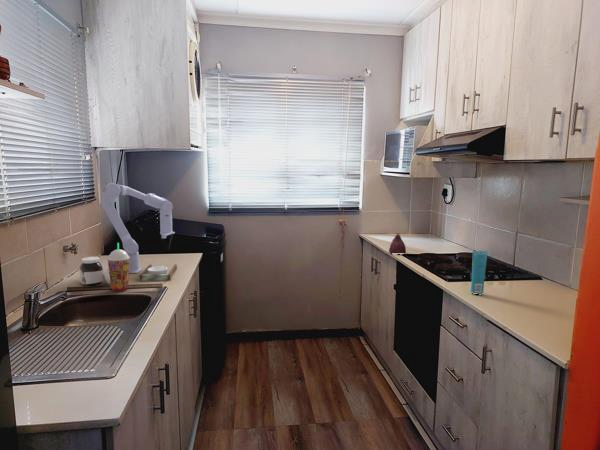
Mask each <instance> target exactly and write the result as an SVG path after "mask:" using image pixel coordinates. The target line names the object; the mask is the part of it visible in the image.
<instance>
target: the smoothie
mask: <svg viewBox="0 0 600 450" xmlns="http://www.w3.org/2000/svg"><path fill="white" fill-rule="evenodd" d="M116 243H117V244H116V245H117V246H116V247H117V248H116V249H114V250H113V251H111V252H110V254H109V256H108V257H107V265H108V273H109V275H110V288H111V289H112V291H113V292H118V293H119V292H124V291H127V290H128V287H129V284H130V273H129V258H130V257H129V256H128V254H127V253H126V252H125V249H120V242H116Z"/></svg>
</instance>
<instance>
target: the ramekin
mask: <svg viewBox="0 0 600 450" xmlns="http://www.w3.org/2000/svg"><path fill="white" fill-rule="evenodd" d="M147 270H148V275H152V274H168V267H167V266H162V265H160V266H159V265H158V266H157V265H156V266H152V267H150V268H148V269H147Z"/></svg>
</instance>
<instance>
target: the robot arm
mask: <svg viewBox="0 0 600 450" xmlns="http://www.w3.org/2000/svg"><path fill="white" fill-rule="evenodd" d="M120 195H121V196H127V195H128V196H131V197H134V198H136V199H139V200H142V201H143V202H144V204H145V205H147V206H150V207H153V208H156V209H159V222H160V224H159V225H160V227H159V228H160V232H159V234H160V236H159V238H160V240H161V242H162V245H163V250H164V251H169V250H170V247H171V242H172V239H173V235H174V234H175V233H176V232H175V231H173V213H172V211H173V209H174V205H173V203H172V202H171V201H170V200H168V199H166V198H165V197H160V196H158V195H156V193H154V192H152V193H151V192H149V193H147V194H145V193H143V192H141V191H138V190H136V189H134V188H131V187H130V186H127V185H122V184H119V183H118V184H117V183H115V182H109V183H107V184H106V185H105V186H104V188H103V191H102V199H101V206H102V208H103V210H104V213H106V216H107V217H108V219H109V221H110V222H111V224H112V226H113V228H114V229H115V232H116V233H117V235H118V236H119V238H120V240H121V243H122V248H123V250H124V251H125V252H126V253H127V254H128V256H129V257H130V258H129V274H138V273H139V272H140V271H141V270H142V267H140V254H139V253H140V252H139V244H138V243H137V242H136V240H135V239H133V238H132V237H131V234H130V233H129V231H128V229H127V228H126V226H125V224H124V222H123V219H121V217H120V216H121V215H119V213H118V211H117V209H116V208H115V205H114V204H115V201H116V199H117V198H118V197H119V196H120Z"/></svg>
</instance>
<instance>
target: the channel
mask: <svg viewBox="0 0 600 450" xmlns="http://www.w3.org/2000/svg"><path fill="white" fill-rule="evenodd" d="M150 267H153V265H152V264H148V265H147V267H145V268H144V270H143V271H142V272H141V273H140V274H139V281H140V282H143V281H145V282H146V281H147V282H148V281H150V282H151V281H171V280H172V278H173V276H174V274H175V273H176V272H177V269H178V264H177V263H175V264H173V266H172V267H171V269H170V270H169V272H167V274H152V275H148V270H147V269H148V268H150Z"/></svg>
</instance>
